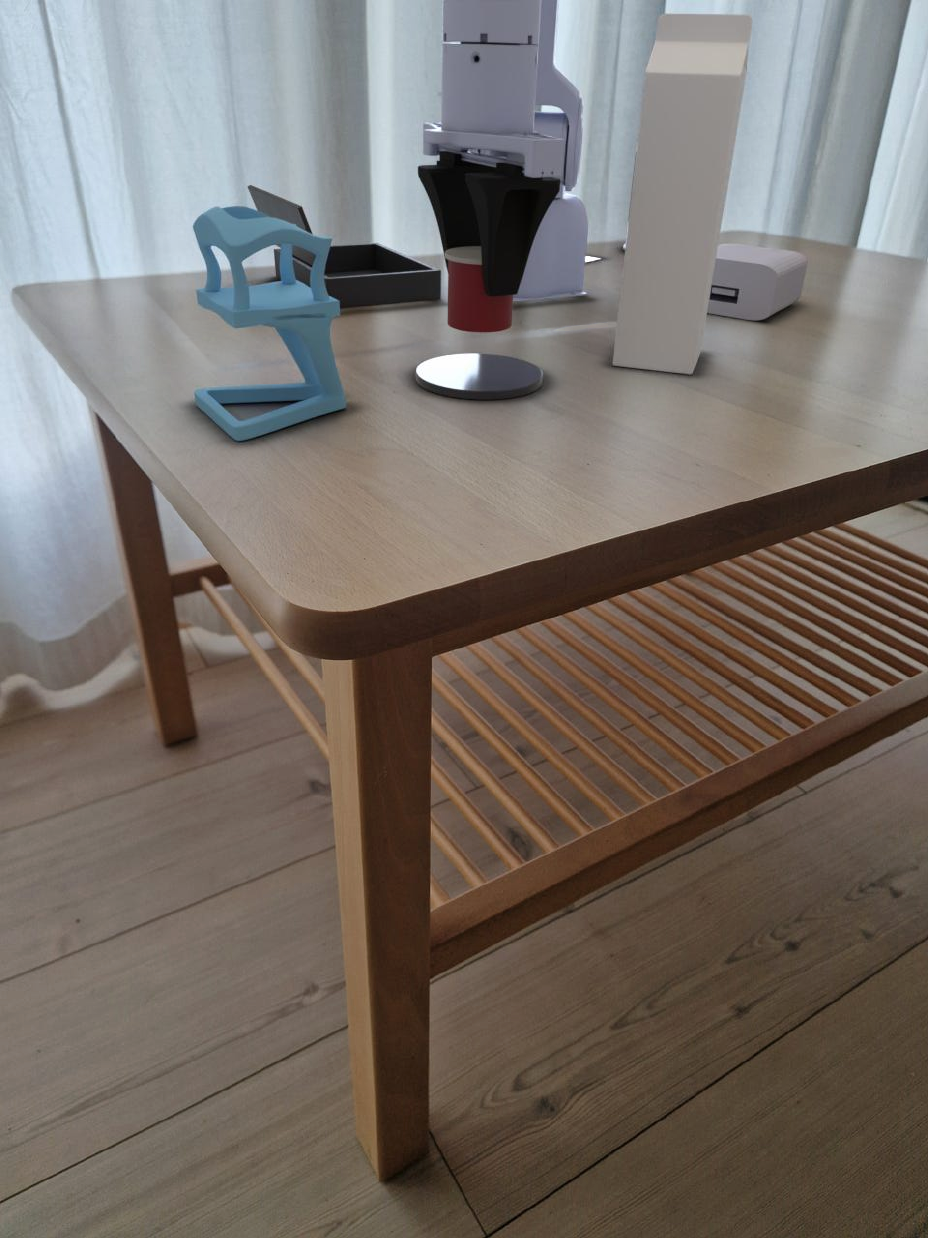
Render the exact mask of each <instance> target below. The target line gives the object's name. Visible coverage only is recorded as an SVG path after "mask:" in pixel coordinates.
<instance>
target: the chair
mask: <svg viewBox="0 0 928 1238" xmlns="http://www.w3.org/2000/svg"><path fill="white" fill-rule="evenodd" d="M192 229H193V232H194V235H195V238H196V242H197V244H198V248H199V250H200V253H201V255H202V258H203V261H204V263H205V267H206V282H205V286H204V288H195V293H196V301H197V305H199V306H200V307H202V308H203V309H206V310H208V311H210V312H211V311H212V312H213V313H215V314H216V315H217V316H219V317H220V319H222V320H223V321H224V323H226V324H227V325H229V326H230V327H232V328H233V329H241V328H242V329H243V328H250V327H258V326H264V327H269V328H274V329H275V331H276V332H277V334H278V336H280V338H281V340H282V341H283V344H284V345H285V346H286V348H287V350H288V352H289V353H290V355H291V357H292V359H293V361H294V363H295V364H296V366H297V368H298V369H299V371H300V373H301V375H302V377H303V379H304V382H303V381H302V382H295V383H293V382H291V383H276V384H275V383H274V384H252V385H232V386H231V385H230V386H215V387H204V388H203V387H202V388H198V389H195V390H194V392H193V395H194V399H195V404H196V407H197V408H198V409H200V410H201V411H202V412H203V413H204V414H205V415H206V416H207V417H209V418H210V419H211V421H212V422H214V423H215V424H216V425H217V426H218V427H220V429H222V430H223V431H224V432H225V433H226V434H227V435H228V436H229V437H231V438H232V439H233V441H236V442H242V441H247V440H251V439H254V438H257V437H260V436H264V435H266V434H269V433H273V432H276V431H278V430H281V429H284V428H286V427H290V426H293V425H295V424H299V423H301V422H304V421H307V420H310V419H313V418H316V417H320V416H322V415H326V414H329V413H333V412H336V411H340V410H344V409H346V408H347V401H346V394H345V391H344V387H343V384H342V380H341V377H340V373H339V371H338V367H337V363H336V359H335V355H334V351H333V345H332V340H331V326H332V325H331V324H332V322H333V320H334V319H335V318H337V317H340V316H341V309H340V301H339V300H337V299H335V298H333V297H331V296H328V294H327V291H326V288H325V283H324V270H325V264H326V260H327V257H328V253H329V249H330V246H332V241H333V237H331V236H320V235H316V234H314V233H313V234H310V233H308V232H307V231H305V230H303V229H301V228H299V227H297V226H296V224H291V223H289V222H287V221H284V220H281V219H277V218H271V217H269V216H267V215H265V214H263V213H261V212H259V211H257V209H256V208H255V209H254V208H251V207H248V206H242V205H232V206H226V207H220V206H214V207H211V208H209V209H208V210H206V211H204V212H203V213H201V214H199V216H198V217H197V218H196V219H195V221H194V223H193V224H192ZM277 244H281V248H280V249H281V251H280V275H281V279H280V280H278V281H272V282H267V283H261V284H255V285H254V284H253V285H249V283H248V278H247V275H246V272H245V269H244V266H243V262H244V261H245V260H246V259H248V258H250V257H251V256H253V255H255V254H256V253H258V252H260V251H262V250H265V249H266V248H269V247H271V246H276V245H277ZM292 245H295V246H299V247H301V248H304V249H306V250H308V251H310V252H312V253H314V254H315V255H316V258H315V261H314V264H313V267H312V270H311V275H310V285H311V288H310V287H308V286H307V285H305V284H304V283H302V282H299V281H297V280H296V279H295V275H294V269H293V261H292ZM212 247H216V248H218V249H219V250H220V251H221V252H222V253H223V254H224V255H225V257H226V258H227V260H228V263H229V267H230V271H231V276H232V282H233V283H232V284H233V286H222V271H221V267H220V264H219V261H218V259H217V257H216V255H215V253H214V251H213V249H212ZM290 401H291V402H292V401H297V402H295V403H292V404H289V405H286V406H283V407H279V408H277V409H274V410H271V411H269V412H266V413H263V414H260V415H257V416H254V417H250V418H247V419H245V420H239V419H237V418H236V417H235V416H234V415H232V414H231V413H230V412H229V411H228V409H226V408H225V407H223V406H222V404H242V403H264V402H265V403H266V402H290Z"/></svg>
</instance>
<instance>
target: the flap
mask: <svg viewBox="0 0 928 1238" xmlns="http://www.w3.org/2000/svg"><path fill="white" fill-rule="evenodd" d="M247 190H248V192H249V194H250V196H251V199H252V201H253V203H254V206H255V209H256V210H257V211H259V212H261V213H263V214H265V215H267V216H269V217H271V218H277V219H281V220H284V221H287V222H289V223H291V224H296V226H297V227H299V228H301V229H303V230H305V231H307V232H308V233H310V234H313V235H314V233H313V230H312V229H311V226H310V223H309V220H308V218H307V216H306V213H305V210H304V207H303V206H302V205H300V204H297V203H296V202H292V201H290V200H287V199H285V198H283V197H281V196H279V195H276V194H273V193H271V192H269V191H267V190H264V189H262V188H259V187H257V186H255V185H252V184H249V185H247ZM275 246H276V247H279V249H281V244H277V245H275ZM292 254H293V255H294V256H296V257H298V258H300V259H301V260H303V261H305V262H307V263H309V264H310V265H312V266H313V264H314V261H315V258H316V255H315V254H314V253H312V252H310V251H308V250H306V249H304V248H301V247H299V246H295V245H292ZM325 270H327V269H326V266H325ZM325 270H324V271H325Z"/></svg>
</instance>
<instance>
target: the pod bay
mask: <svg viewBox="0 0 928 1238" xmlns="http://www.w3.org/2000/svg"><path fill="white" fill-rule="evenodd" d="M280 251H281V248H274V249H273V256H274V257H273V258H274V259H273V260H274V270H275V271H274V272H275V277H276V278H277V279H278V280H281V275H280ZM292 261H293V269H294V275H295V279H296V280H297V281H299V282H302V283H304V284H305V285H307V286H308V287H310V288H311V285H310V275H311V270H312V267H313V266H312V265H310V264H309V263H307V262H305V261H303V260H301V259H300V258H298V257H296V256H294V255H293V254H292ZM325 266H326V269H327V270H325V271H324V283H325V288H326V291H327V294H328V296H331V297H333V298H335V299H337V300H339V301H340V310H342V309H352V308H361V307H362V308H363V307H373V306H384V305H395V304H396V305H397V304H407V303H417V302H428V301H438V300H439V301H440V300H441V298H442V270H441V269H439V268H437V267H434V266H432V265H429V264H427V263H425V262H422V261H420V260H418V259H416V258H413V257H411V256H409V255H406V254H405V253H401V252H399V251H397V250H394V249H393V248H391V247H387V246H385V245H384V244H381V243H379V242H368V243H353V244H352V243H351V244H336V245H335V244H334V245H333V244H332V245H330V249H329V253H328V257H327V260H326V264H325Z"/></svg>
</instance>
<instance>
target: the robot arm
mask: <svg viewBox="0 0 928 1238" xmlns="http://www.w3.org/2000/svg"><path fill="white" fill-rule="evenodd" d="M559 9H560V0H441V42H442V43H441V102H440V103H441V106H440V107H441V109H440V110H441V111H440V113H441V114H440V115H441V117H440V120H441V121H440V122H423V123H422V141H423V142H422V146H423V147H422V154H423V155H424V156H429V157H430V156H431V157H437V156H439V160H436V164H422V165H421V164H420V165H418V166H417V176H418V179H419V180H420V182H421V184H422V187H423V188H424V190H425V192H426V195H427V197H428V199H429V202H430V204H431V207H432V210H433V213H434V216H435V217H434V218H435V221H436V224H437V228H438V232H439V237H440V242H441V247H442V253H443V257H444V262H445V266H446V271H447V272H448V259H446V258H445V251H446V250H448V249H451V248H457V247H467V246H481V256H482V275H483V283H484V288H485V292H486V295H488V296H491V297H494V296H505V295H513V303H523V302H532V301H543V300H554V299H563V298H564V299H565V298H573V297H584V296H587V295H588V293H587V292H585V291H583V289H584V279H585V277H584V276H585V267H586V262H585V258H586V256H587V247H588V246H587V245H588V234H589V220H588V214H587V210H586V206H585V205H584V203H583V201H582V200H581V199H580V198H579V196H577V195H575V194H572V193H566V192H572V191H573V190H574V188H575V187H576V186H577V185H578V184H579V178H580V168H581V160H582V159H581V158H582V145H583V133H584V118H583V115H584V98H583V97H582V93H581V90H580V89H579V88H578V86H577V85H575V83H573V82H572V80H571V79H570V78H568V77H567V76H566V75H565V74H564V73H563V72H562V71H561V70H560V69H559V68H558V66H556V57H557V56H556V55H557V41H558V27H559V25H558V24H559ZM536 106H549V107H550V106H551V107H555V108H558V109H560V110H561V111H562V112H554V111H536Z"/></svg>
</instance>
